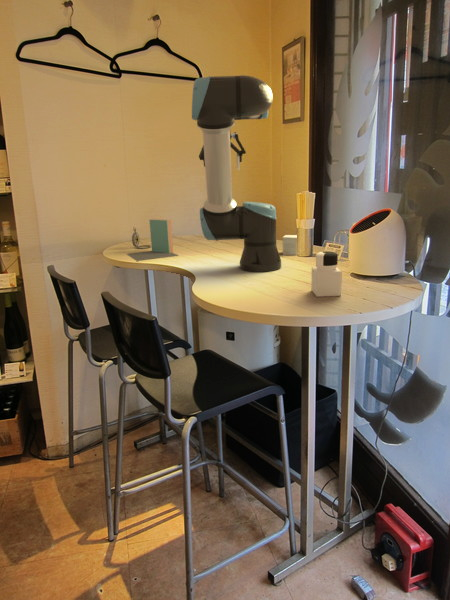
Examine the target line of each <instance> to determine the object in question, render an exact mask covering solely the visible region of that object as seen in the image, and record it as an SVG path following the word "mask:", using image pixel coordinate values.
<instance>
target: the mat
mask: <svg viewBox="0 0 450 600" xmlns="http://www.w3.org/2000/svg"><path fill="white" fill-rule="evenodd" d="M126 255H127V256H128V257H130V258H131V259H133V260H135V261H136V262H137V263H139V262H140V261H149V260H156V259H165V258H172V257H180V255H179V254H177V253H174V252H171V253H163V252H153V251H152V250H149V251H139V252H138V251H137V252H132V253H131V252H130V253H129V252H128V253H126Z"/></svg>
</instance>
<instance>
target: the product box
mask: <svg viewBox="0 0 450 600" xmlns="http://www.w3.org/2000/svg"><path fill="white" fill-rule="evenodd" d="M297 235H298V234H285V235H284V236H282V256H298V255H297Z"/></svg>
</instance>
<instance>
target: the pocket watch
mask: <svg viewBox="0 0 450 600" xmlns="http://www.w3.org/2000/svg"><path fill="white" fill-rule="evenodd" d="M133 231H134V232H133V233H132V236H131V242H132V245H133V246H134V247H135V248H136V249H137V250H147V249H150V248H151V249H152V245H149V244H148V245H147V244H145V245H144V244H143V245H140V235H139V233H138V232H137V228H136V227H135V226H133Z"/></svg>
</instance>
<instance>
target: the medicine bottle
mask: <svg viewBox="0 0 450 600" xmlns="http://www.w3.org/2000/svg"><path fill="white" fill-rule="evenodd" d="M338 256H339V255H338V253H336V252H335V251H330V250H329V251H327V250H325V251H319V252H317V253H316V254H315V266H313V267H311V288H310V289H311V292H312V293H313V294H314V295H315V297H316V298H317V297H318V298H319V297H337V296H338V297H341V296H342V285H343V284H342V281H343V280H342V279H343V271H341V269H339V268H338V265H339V264H338V260H339V259H338V258H339V257H338Z"/></svg>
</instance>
